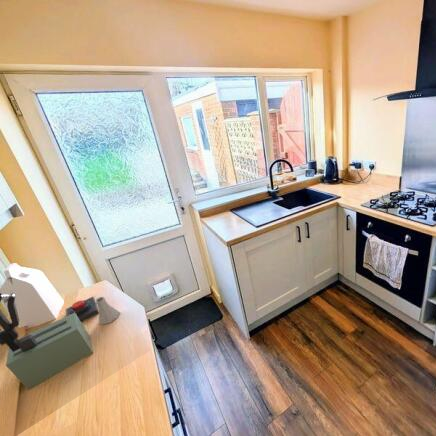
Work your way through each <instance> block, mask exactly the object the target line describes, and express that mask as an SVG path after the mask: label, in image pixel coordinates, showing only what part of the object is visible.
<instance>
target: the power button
mask: <svg viewBox="0 0 436 436" xmlns="http://www.w3.org/2000/svg"><path fill="white" fill-rule="evenodd" d="M83 306H85V303H84V300H81V299H80V300H78V301H75V302H74V303H73V304H72V305H71V307H72V308H73V309H74V310H78V309H80V308H82V307H83Z"/></svg>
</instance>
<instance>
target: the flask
mask: <svg viewBox="0 0 436 436" xmlns="http://www.w3.org/2000/svg"><path fill="white" fill-rule="evenodd" d="M95 302H96V304H97V308H98V311H99V314H98V322H99V323H100V324H101V325H106V324H107V325H108V324H110V323H112V322H113V321H114V320H116V319H117V318H118V317H119V316H120V314H121V312H120V311H119V310H117V309H116V308H115V307H113V306H112V305H110V304H109V303H108V302H107V301H106V297H105V296H99V297H98V298H96V299H95Z"/></svg>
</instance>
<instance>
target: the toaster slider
mask: <svg viewBox="0 0 436 436" xmlns="http://www.w3.org/2000/svg"><path fill="white" fill-rule="evenodd" d="M28 334H29V335H28ZM28 334H26V335H27V336H26V335H24V336H25V337H24V336H22V337H23V338H22V337H20V338H21V339H20V338H18V339H19V340H18V341H17V345H18V346H19V347H20V349H21V350H22V351H23V352H25V351H27V350H29V349H31V348H33V347H35V346H36V344H37V341H36V340H35V339H34V337H33V336H32V335H31V334H30V333H28Z"/></svg>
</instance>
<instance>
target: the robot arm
mask: <svg viewBox="0 0 436 436" xmlns="http://www.w3.org/2000/svg"><path fill="white" fill-rule="evenodd" d="M15 296H16V294H15V293H12V294H10V295H2V294H1V293H0V303H2V301H1V300H4V302H5V303H7V307H8V310H7V312H8V311H9V312H8V314H9V316H10V317H9V318H10V320H9V319H8V317H7V316H6V315H5V314H4V312H3V311H2V310H1V309H0V327H1V328H2V329H3V330H1V328H0V346H3V345H6V346H7V347H8V349H9V348H10V349H11V350H12V351H13V352H14V351H16V350H18V349H20V347H19V346H18V345H17V341H18V340H17V339H19V332H18V331H17V329H16V328H17V327H18V325H19V316H18V313H17V309H16V305H15V301H14V300H15Z"/></svg>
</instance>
